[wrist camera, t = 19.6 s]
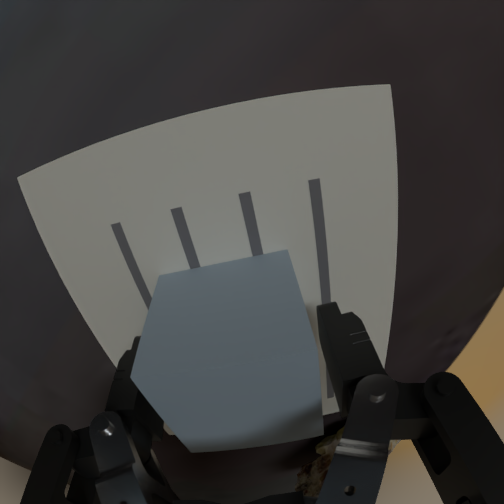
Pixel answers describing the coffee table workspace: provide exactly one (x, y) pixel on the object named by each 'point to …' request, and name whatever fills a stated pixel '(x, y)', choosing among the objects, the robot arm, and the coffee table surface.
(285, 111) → the letter
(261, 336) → the slate cube
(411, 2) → the coffee table surface
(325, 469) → the mineral rock
